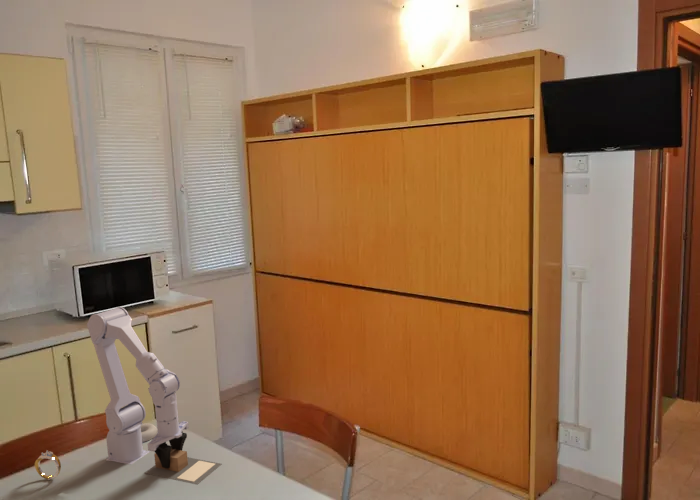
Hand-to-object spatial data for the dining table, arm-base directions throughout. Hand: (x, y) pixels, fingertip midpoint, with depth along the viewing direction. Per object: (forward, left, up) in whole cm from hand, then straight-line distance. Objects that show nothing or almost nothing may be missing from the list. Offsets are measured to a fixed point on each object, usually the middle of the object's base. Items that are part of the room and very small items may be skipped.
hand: (171, 463), depth 159 cm
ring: (-29, -16, -2) cm, 33 cm away
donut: (-22, +12, -2) cm, 25 cm away
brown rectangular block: (0, 0, -1) cm, 1 cm away
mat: (+4, 0, -1) cm, 4 cm away
